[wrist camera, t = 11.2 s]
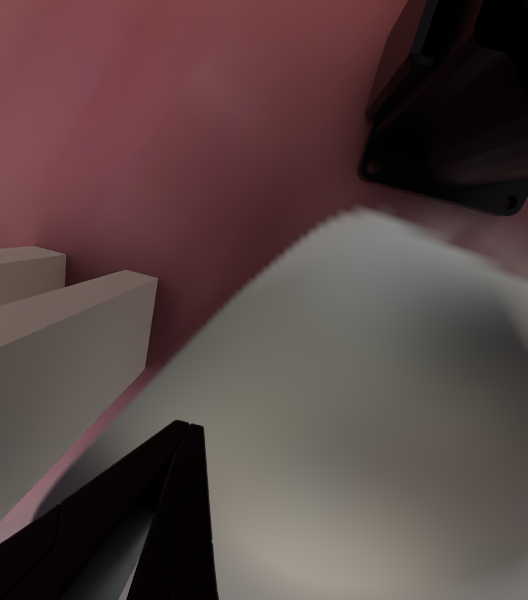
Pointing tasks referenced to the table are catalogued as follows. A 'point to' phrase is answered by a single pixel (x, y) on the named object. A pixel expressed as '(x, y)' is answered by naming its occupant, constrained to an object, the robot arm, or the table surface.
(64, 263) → the domino
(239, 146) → the table surface
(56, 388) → the domino
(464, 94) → the robot arm
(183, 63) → the table surface
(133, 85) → the table surface
